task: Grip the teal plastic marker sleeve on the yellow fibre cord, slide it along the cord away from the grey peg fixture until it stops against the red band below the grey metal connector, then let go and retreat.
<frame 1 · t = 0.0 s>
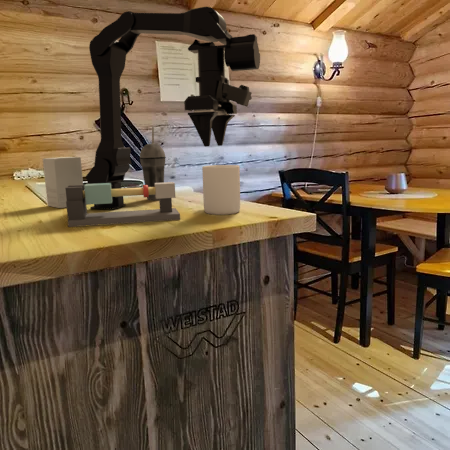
hand: (213, 146, 94), 15 cm above the table, tool pointing down, fingers open, 9 cm apart
beverage cup: (155, 200, 119), on the table
marker sleeve: (98, 193, 86), point 6 cm above the table, slide at 0.0 cm
mug: (218, 211, 97), on the table
grey peg fixture: (125, 219, 88), on the table
supplement box: (66, 206, 111), on the table
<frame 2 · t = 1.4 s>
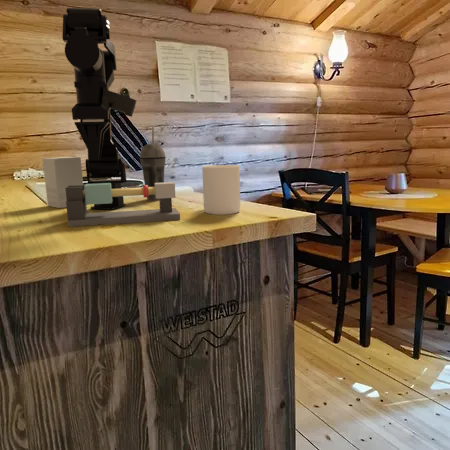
hand: (97, 158, 85), 13 cm above the table, tool pointing down, fingers open, 9 cm apart
nothing on the table moved.
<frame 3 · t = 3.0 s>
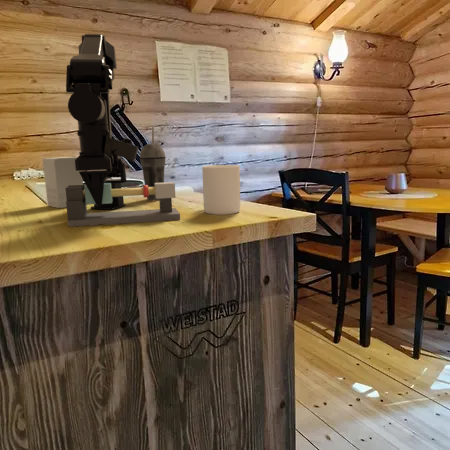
hand: (99, 203, 87), 4 cm above the table, tool pointing down, fingers closed on marker sleeve, 4 cm apart
marker sleeve: (98, 193, 86), point 6 cm above the table, slide at 0.0 cm, touching gripper
everything else where it was.
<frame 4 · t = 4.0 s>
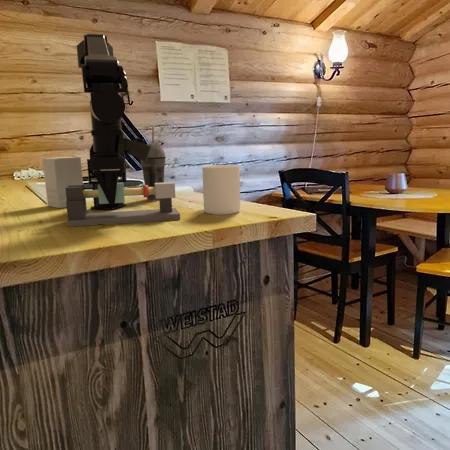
hand: (112, 202, 87), 4 cm above the table, tool pointing down, fingers closed on marker sleeve, 4 cm apart
marker sleeve: (111, 192, 87), point 6 cm above the table, slide at 2.5 cm, touching gripper
everything else where it was.
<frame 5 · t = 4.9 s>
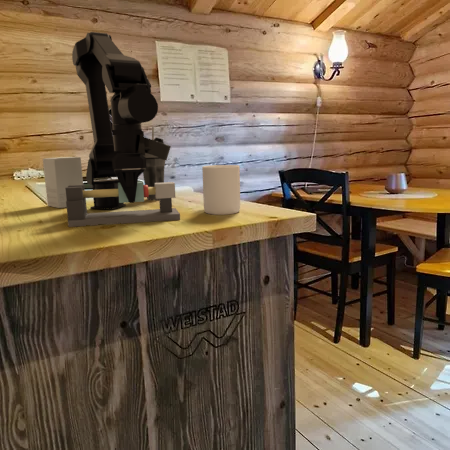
hand: (131, 201, 88), 4 cm above the table, tool pointing down, fingers closed on marker sleeve, 4 cm apart
marker sleeve: (131, 191, 88), point 6 cm above the table, slide at 6.5 cm, touching gripper
everything else where it was.
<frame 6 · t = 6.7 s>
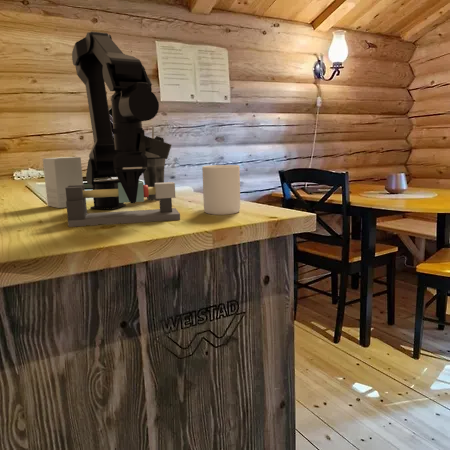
hand: (132, 200, 88), 4 cm above the table, tool pointing down, fingers open, 9 cm apart
marker sleeve: (131, 191, 88), point 6 cm above the table, slide at 6.5 cm
everything else where it was.
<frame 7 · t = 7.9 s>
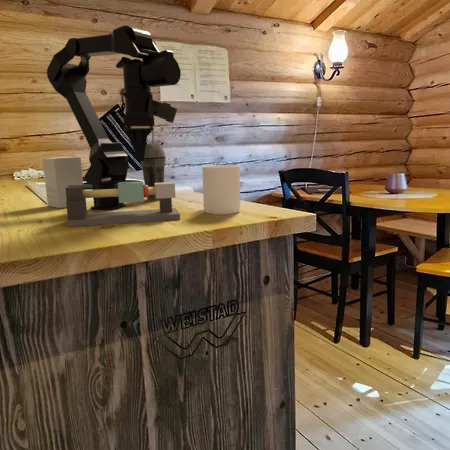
hand: (141, 160, 96), 12 cm above the table, tool pointing down, fingers open, 9 cm apart
nothing on the table moved.
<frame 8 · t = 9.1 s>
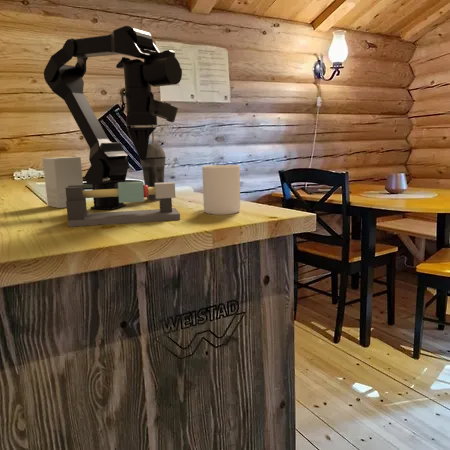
hand: (142, 159, 97), 12 cm above the table, tool pointing down, fingers open, 9 cm apart
nothing on the table moved.
at the end: marker sleeve slide at 6.5 cm; the gripper is holding nothing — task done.
